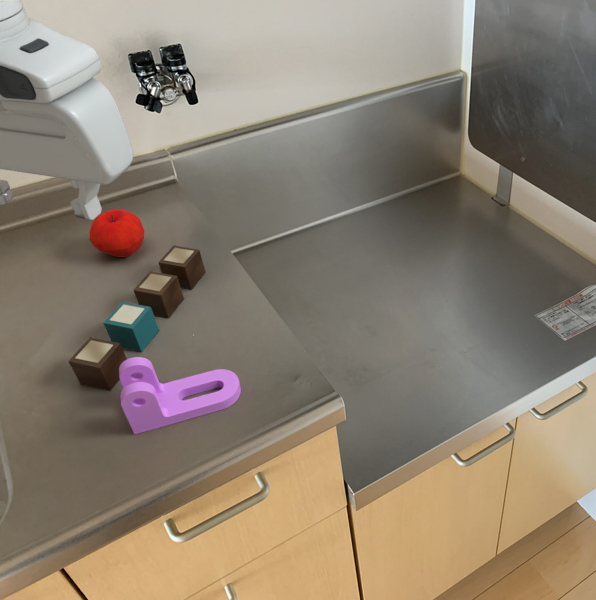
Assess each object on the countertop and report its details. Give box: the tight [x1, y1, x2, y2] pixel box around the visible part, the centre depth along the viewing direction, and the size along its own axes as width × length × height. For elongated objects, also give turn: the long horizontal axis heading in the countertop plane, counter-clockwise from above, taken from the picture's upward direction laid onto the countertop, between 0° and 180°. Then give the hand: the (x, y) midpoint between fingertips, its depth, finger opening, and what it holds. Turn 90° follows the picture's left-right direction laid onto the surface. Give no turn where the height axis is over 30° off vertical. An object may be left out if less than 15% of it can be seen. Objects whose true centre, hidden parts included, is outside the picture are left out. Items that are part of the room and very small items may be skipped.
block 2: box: [158, 245, 206, 291], centre depth 93 cm, size 4×4×4 cm
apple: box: [88, 208, 145, 258], centre depth 97 cm, size 8×8×7 cm
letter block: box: [102, 301, 160, 353], centre depth 83 cm, size 4×4×4 cm
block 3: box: [133, 270, 185, 319], centre depth 88 cm, size 4×4×4 cm
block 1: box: [68, 336, 128, 392], centre depth 78 cm, size 4×4×4 cm
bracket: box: [119, 356, 242, 435], centre depth 74 cm, size 13×6×7 cm, turn 111°
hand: (45, 208), depth 56 cm, fingers open, 8 cm apart
